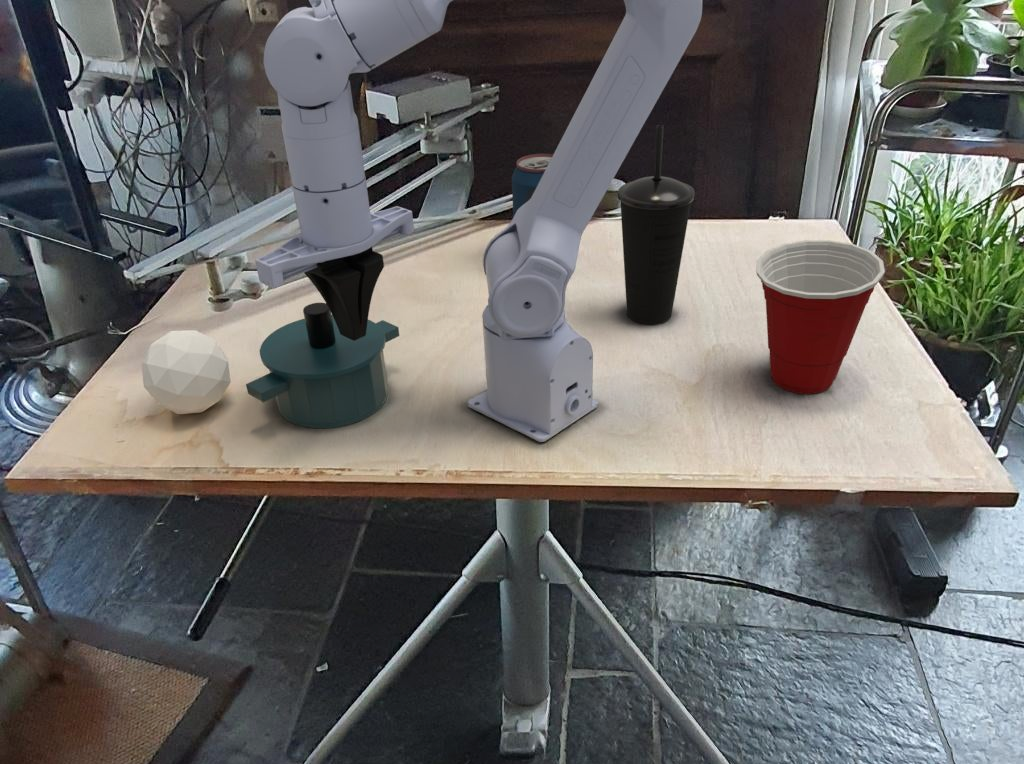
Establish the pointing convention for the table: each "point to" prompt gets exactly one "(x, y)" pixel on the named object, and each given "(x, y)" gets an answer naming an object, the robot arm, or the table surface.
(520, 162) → the soda can
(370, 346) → the lid
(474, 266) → the table surface
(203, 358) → the ball
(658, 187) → the drinking cup
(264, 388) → the pot
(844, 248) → the plastic cup
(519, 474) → the table surface
